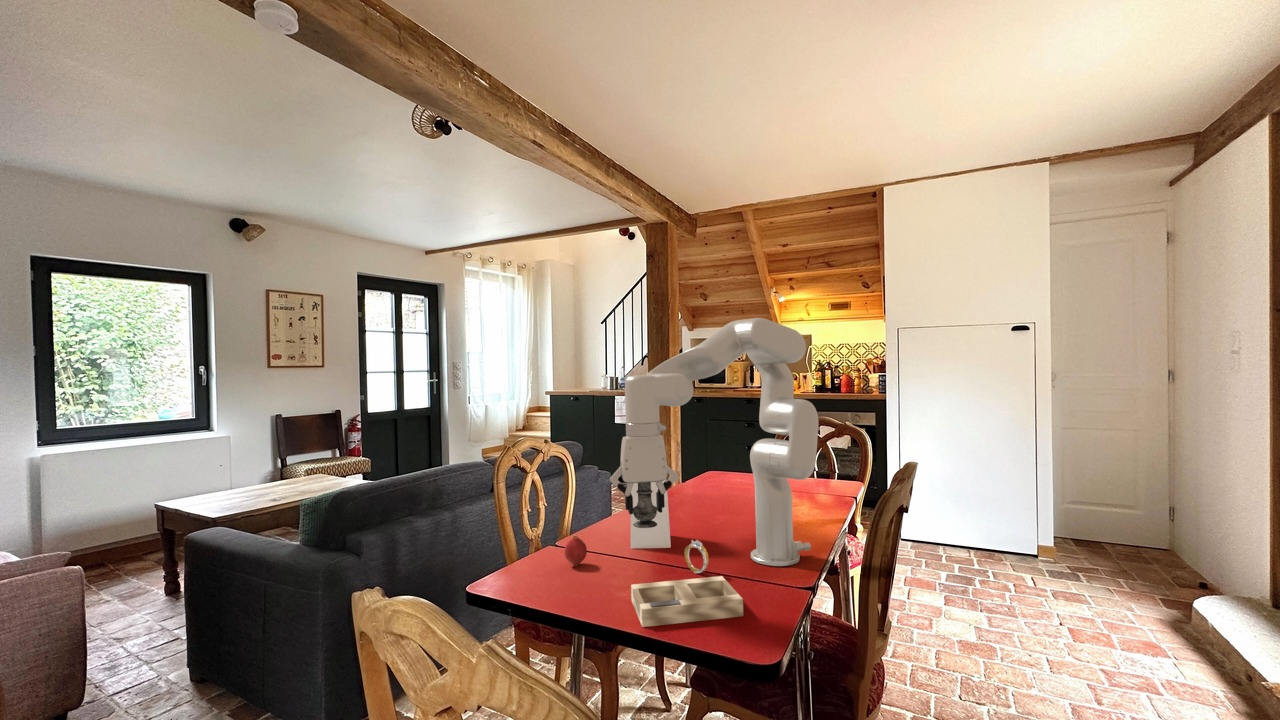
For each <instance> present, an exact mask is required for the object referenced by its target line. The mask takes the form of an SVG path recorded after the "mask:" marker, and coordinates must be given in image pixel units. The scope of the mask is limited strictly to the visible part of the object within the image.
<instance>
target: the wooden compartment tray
mask: <svg viewBox="0 0 1280 720" xmlns="http://www.w3.org/2000/svg"><path fill="white" fill-rule="evenodd" d="M630 586H631V587H630V591H631V594H630V596H631V603H632V605H633V608H634V610H635V612H636V615H637V618H638V620H639V622H640V625H641V627H642V628H645V627H657V626H665V625H674V624H683V623H685V624H686V623H693V622H704V621H710V620H711V621H713V620H720V619H730V618H739V617H744V598H743V597H742V596H741V595H740V594H739V593H738V591H736V590H735V589H734V588H733V586H732V585H731V584H730V583H729V582H728V581H727V580H726V579H725V578H724V576H722V575H720V576H709V577H699V578H688V579H687V578H685V579H678V580H665V581H657V582H656V581H655V582H645V583H634V584H630Z"/></svg>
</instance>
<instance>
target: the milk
mask: <svg viewBox="0 0 1280 720" xmlns="http://www.w3.org/2000/svg"><path fill="white" fill-rule="evenodd" d="M666 480H667V478H666V479H665V480H664V481H662V483H664V482H665V481H666ZM637 490H638V483H634V485H633V488H632V491H631V495H632V496H633V507H636V506H637V503H638V493H637V492H636V491H637ZM651 490H652V491H653V492H652V493H651V500H652V504H653V506H656V507H657V504H656V493H657V492H658V488H657V485H656V483H655V482H651ZM664 504H665V507H664V508H662V512H661V513H660V512H658V510H657V514H656V517H655V518H654V519H653V520H652V521H655V522H656V523H657V526H655V527H652V528H637V527H635V526H634V525H633V524H634V523H635V522H637V521H640V520H637V519H636V518H635V516H634V514H631V515H630V549H667V548H668V549H669V548H670V549H671V546H672V545H671V533H670V532H671V529H670V515H669V512H670V511H669V498H668V490H667V491H666V493H665V494H664Z"/></svg>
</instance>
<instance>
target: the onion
mask: <svg viewBox="0 0 1280 720" xmlns="http://www.w3.org/2000/svg"><path fill="white" fill-rule="evenodd" d="M587 549H588V548H587V546H586V543H585V542H584V541H583V540H582V539H581V538H579V537H578V535H576V534H574V535H573V536H572V538H571V539H570V540H569V541H567V543H566V544H565V547H564V556H565V559H566V560H567V561H568V562H569V563H571V564H572V565H573V566H574V567H575V566H578V565H580V564H581V563H582V562H583V561H585V558H586V557H587V554H588V553H587V551H588V550H587Z"/></svg>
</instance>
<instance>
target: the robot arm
mask: <svg viewBox="0 0 1280 720" xmlns="http://www.w3.org/2000/svg"><path fill="white" fill-rule="evenodd" d="M806 348H807V345H806V341H805V339H804V337H803V336H802V334H801V333H800V332H799V331H797V330H796V329H793V328H791V327H789V326H786V325H783V324H780V323H778V322H775V321H773V320H770V319H766V318H762V317H754V318H753V317H752V318H744V319H736V320H733V321H731V322H728V323H727V324H725V325H724V326H723V327H721V328H720V329H718V330H717V331H715V332H714V333H713V334H712V335H710V336H708V337H707V338H706V339H704V340H703V341H702V342H700V343H699V344H697V345H696V346H693V347H691V348H689V349H687V350H685V351H683V352H681V353H678V354H677V355H675V356H672V357H670V358H668V359H667V360H665V361H663V362H661V363H660V364H659V365H657V366H655V367H654V368H653V369H651V370H650V371H649V372H647V373H646V374H642V375H641V374H638V375H637V374H636V375H629V376H627V377H626V378H625V381H624V400H625V402H624V403H625V436H622V439H621V447H620V466H619V467H618V468H617V469H616V471H615V472H614V473H613V474H612V475H611V476H610V477H609V482H610V483H611V484H613V486H615V487H616V488H617V489H618V490H619V491H620V492H621V493H622V494H623V495H624V499H625V500H624V501H625V502H624V503H625V504H624V505H625V507H624V508H625V510H626V511H627V512H628V514H629V515H630V516H631V514H633V496H632V495H631V491H632V488H633V485H634V483H647V482H655V483H656V485H657V488H658V492H657V493H656V504H657V508H658V512H660V513H661V512H662V508H664V507H665V504H664V494H665V493H666V491H667V492H668V490H669V488H671V487H672V485H673V484H674V483H675V482H676V481H677V480H678V478H679V475H678V474H677V472H675V471H674V470H673V469H672V468H671V467H670V466H669V465H668V461H667V453H666V446H665V441H664V436H663V435H661V433H662V432H663V431H667V424H663V423H661V421H660V406H664V407H665V406H666V407H680V406H681V407H682V406H683V405H685V404H687V403H689V401H690V400H692V397H693V395H694V385H693V382H694V381H697V380H701V379H702V380H704V379H707V378H709V377H712V376H715V375H718V374H719V373H721V372H722V371H723V370H725V369H726V368H727V367H728V366H729V365H731V364H732V363H734V362H735V361H736V360H737V359H738V358H740V357H741V356H742V355H745V354H746V356H747V357H748V359H749V360H750V361H751V362H752V363H753V366H754V367H756V369H757V371H758V373H759V376H760V380H761V391H760V392H761V393H760V403H759V405H760V406H759V414H758V415H759V416H758V421H759V426H760V428H761V429H762V430H763V431H764V432H767V433H770V434H775V435H783V436H788V440H785V439H781V438H780V439H779V438H762V439H759V440H757V441H756V442H754V443H753V445H752V446H751V449H750V453H749V460H750V467H751V471H752V475H753V476H752V477H753V482H754V504H755V505H754V509H755V537H756V538H755V541H756V543H755V544H756V548H755V549H753V550H752V551H750V558H751V559H752V561H754V562H755V563H757V564H761V565H765V566H772V567H787V566H788V567H789V566H793V565H796V564H798V563H799V562H800V557H801V556H800V552H801V551H811V550H812V545H811V544H810V542H802V541H800V540H799V541H798V540H797V541H795V540H794V528H793V496H792V495H793V493H792V488H791V485H790V482H789V480H788V479H791V480H797V481H798V480H799V481H800V480H801V481H802V480H807V479H809V477H811V475H812V474H813V473H814V470H815V467H816V461H817V449H818V437H819V414H818V412H817V409H816V407H815V406H814V404H813V403H812V402H811V401H809V400H807V399H803V398H794V392H795V391H794V390H795V389H794V388H795V381H794V380H795V379H794V377H793V374H792V371H791V369H790V367H789V366H788V365H787V364H793V363H798V362H799V361H800V360H801V359H803V357H804V355H805V354H806V350H807V349H806ZM692 381H693V382H692ZM668 474H669V477H668ZM620 477H621V478H622V481H623V482H624V483H625V485H624V484H623V483H622V482H620V481H619V478H620ZM667 477H668V479H667ZM665 479H666V481H665V482H664V483H662V481H664V480H665Z"/></svg>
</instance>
